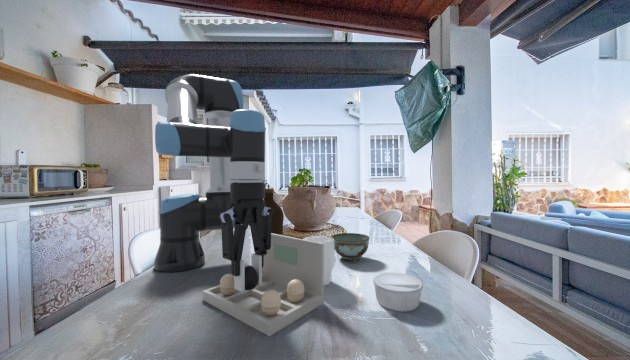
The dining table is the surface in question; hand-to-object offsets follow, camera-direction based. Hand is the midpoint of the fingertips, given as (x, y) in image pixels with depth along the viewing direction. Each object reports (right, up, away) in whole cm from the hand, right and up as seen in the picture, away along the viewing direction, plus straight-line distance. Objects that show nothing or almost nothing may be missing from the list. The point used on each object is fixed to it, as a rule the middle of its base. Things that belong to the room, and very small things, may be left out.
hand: (248, 285), depth 61 cm
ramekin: (+34, -5, +3) cm, 35 cm away
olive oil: (-2, -5, +37) cm, 37 cm away
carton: (+2, -5, +3) cm, 6 cm away
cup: (+16, -5, +15) cm, 23 cm away
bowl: (+28, -5, +37) cm, 46 cm away
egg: (0, -1, 0) cm, 1 cm away
